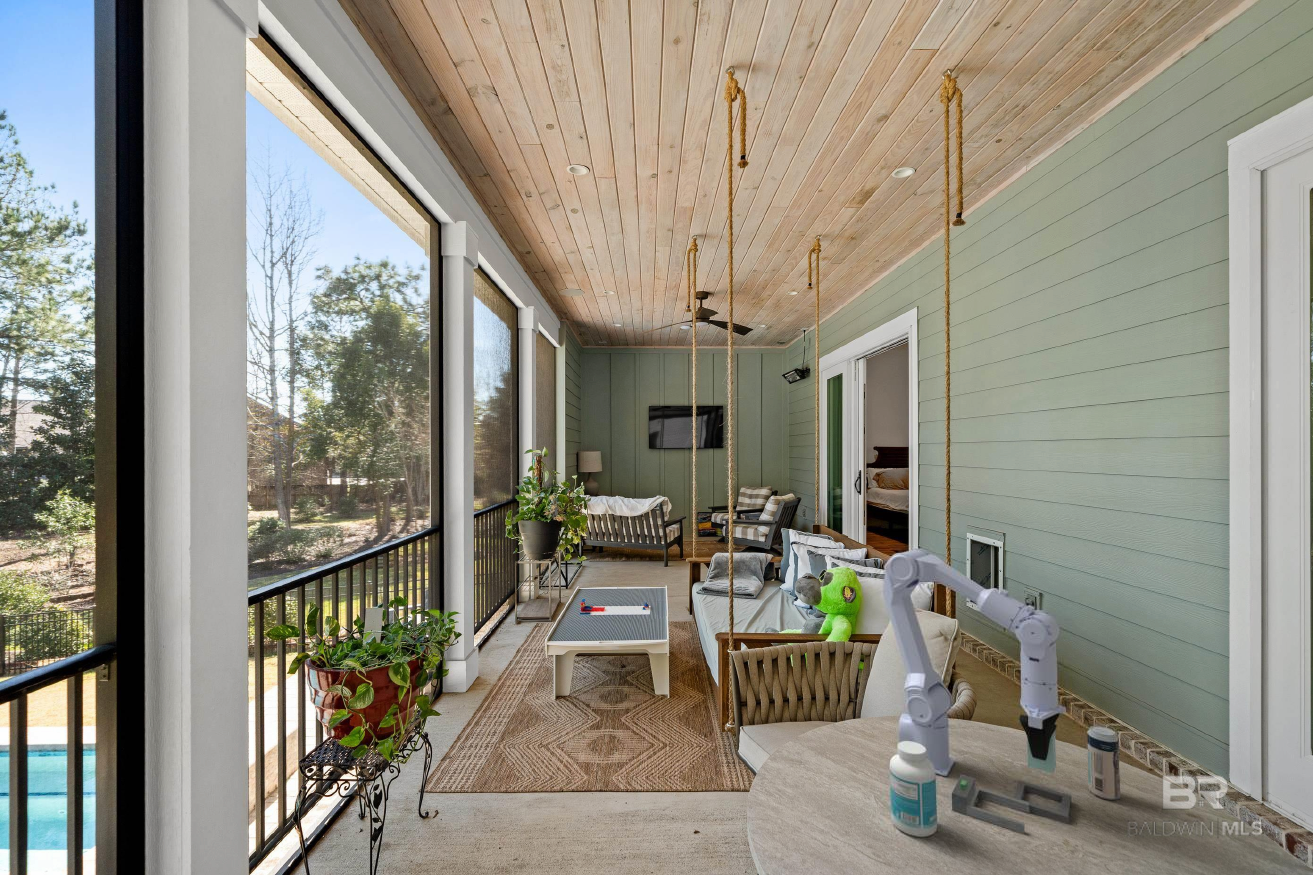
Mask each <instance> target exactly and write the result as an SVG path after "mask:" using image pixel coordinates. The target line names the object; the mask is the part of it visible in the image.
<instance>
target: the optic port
mask: <svg viewBox="0 0 1313 875" xmlns="http://www.w3.org/2000/svg"><path fill="white" fill-rule="evenodd" d="M981 799H982V800H985V801H988V802H991V803H995V804H997V805H1001V806H1004V807H1007V808H1010V809H1014V810H1017V811H1020V812H1023V813H1025V814H1030V813H1031V812H1030V803H1028V802H1029V801H1028V802H1024V801H1025V800H1024V801H1021V800H1018V799H1015V798H1013V797H1011V796H1009V795H1005V794H1001V793H997V792H995V791H991V790H988V789H986V788H983V787H979V786H976V778H975V777H971V776H968V775H965V774H962V773H961V774H960V776H959V778H958V780H957V782H956V784H955V786H954V788H953V790H952V792H951V810H952V811H954V812H957V813H960V814H964V815H966V816H969V817H972V818H975V819H978V820H980V821H983V822H987V823H990V824H993V825H996V826H999V827H1002V828H1004V829H1007V830H1010V831H1014V832H1017V833H1019V834H1022V835H1024V834H1025V822H1023V821H1020V820H1016V819H1013V818H1011V817H1008V816H1004V815H1001V814H998V813H995V812H992V811H990V810H987V809H983V808H980V807H977V805H978V802H979V800H981Z"/></svg>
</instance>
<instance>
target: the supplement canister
mask: <svg viewBox="0 0 1313 875" xmlns="http://www.w3.org/2000/svg"><path fill="white" fill-rule="evenodd" d="M1086 733H1087V734H1086V735H1087V741H1086V742H1087V773H1088V790H1089V791H1090V792H1091V793H1092V794H1094V795H1095V796H1097V797H1098V798H1101V799H1103V800H1104V799H1105V800H1109V801H1110V800H1111V801H1113V800H1114V801H1115V800H1118V799H1120V798H1121V779H1120V778H1121V777H1120V776H1121V774H1120V746H1119V745H1120V743H1119V742H1120V740H1119V737H1118V735H1117V732H1116V731H1114V730H1113V729H1111V728H1110V727H1109V728H1108V727H1105V726H1100V725H1091V726H1090V727H1089V730H1087V731H1086Z"/></svg>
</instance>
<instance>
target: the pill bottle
mask: <svg viewBox="0 0 1313 875" xmlns="http://www.w3.org/2000/svg"><path fill="white" fill-rule="evenodd" d="M896 748H897V754H895V755H893V756H892V757H891V758H890V761H889V785H890V786H889V787H890V788H889V789H890V790H889V791H890V792H889V793H890V817H891V821H892V823H893V825H894V827H896V828H897V829H898V830H899V831H901V832H902V833H905V834H907V835H909V836H914V837H920V838H925V837H930V836H931V835H933V834H935V833H936V831H937V829H938V816H937V815H938V809H937V808H938V806H937V780H936V776H937V775H936V773H935V768H934V766H933V764H932V763H931V762H930V761H929V760H928V759H926V757H927V754H926V748H925V747H924V746H923V745H921V744H919V743H916V742H911V741H903V742H900V743H899V742H898V743H897V747H896Z"/></svg>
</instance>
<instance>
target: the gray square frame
mask: <svg viewBox="0 0 1313 875" xmlns="http://www.w3.org/2000/svg"><path fill="white" fill-rule="evenodd" d="M1025 793H1029V794H1033V795H1036V796H1039V797H1043V798H1046V799H1049V800H1053V801H1057V802H1059V803H1061V805H1060V810H1056V809H1054V808H1050V807H1047V806H1043V805H1041V804H1037V803H1035V802H1030V801H1027V800H1023V799H1024V796H1025ZM1012 798H1015V799H1018V800H1021V801H1024V802H1028V803H1030V813H1031V814H1034V815H1037V816H1041V817H1043V818H1047V819H1050V820H1052V821H1057V822H1059V823H1064V824H1067V825H1069V819H1070V812H1071V806H1072V794H1067V793H1065V792H1060V791H1057V790H1053V789H1050V788H1047V787H1043V786H1041V785H1037V784H1033V783H1030V782H1026V781H1023V780H1019V779H1018V780H1017V784H1016V787H1015V791H1014V794H1013V797H1012Z"/></svg>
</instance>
